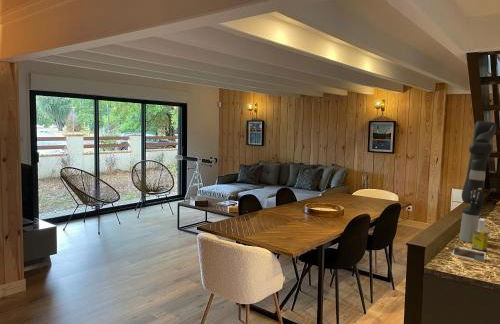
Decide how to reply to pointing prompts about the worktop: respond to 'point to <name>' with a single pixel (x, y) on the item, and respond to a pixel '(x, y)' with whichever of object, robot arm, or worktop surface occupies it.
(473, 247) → the supplement box
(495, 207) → the worktop surface
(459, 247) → the stool seat
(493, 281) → the worktop surface
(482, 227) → the cylinder with rectangular tab
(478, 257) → the leg stop
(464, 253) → the folding leg
